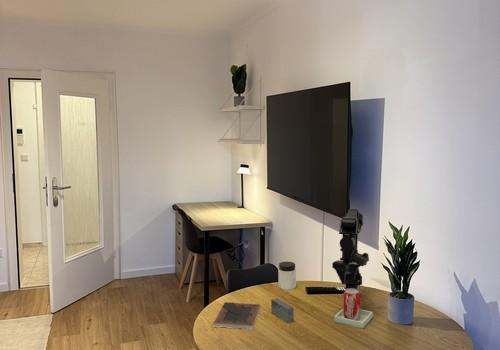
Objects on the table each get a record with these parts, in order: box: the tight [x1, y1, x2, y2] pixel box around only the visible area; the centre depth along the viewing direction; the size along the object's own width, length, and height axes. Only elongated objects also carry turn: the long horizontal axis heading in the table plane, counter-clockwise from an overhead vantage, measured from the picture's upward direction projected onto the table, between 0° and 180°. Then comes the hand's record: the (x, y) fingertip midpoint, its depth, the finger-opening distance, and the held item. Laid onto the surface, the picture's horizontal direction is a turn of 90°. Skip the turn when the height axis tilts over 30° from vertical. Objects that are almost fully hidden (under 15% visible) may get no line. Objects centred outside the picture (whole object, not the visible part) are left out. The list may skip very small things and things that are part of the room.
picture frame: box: [212, 301, 261, 331], centre depth 198 cm, size 16×2×22 cm
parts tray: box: [333, 308, 374, 330], centre depth 193 cm, size 12×12×2 cm
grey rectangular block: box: [270, 297, 295, 323], centre depth 197 cm, size 3×12×6 cm, turn 32°
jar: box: [277, 261, 297, 291], centre depth 231 cm, size 9×8×12 cm
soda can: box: [342, 288, 361, 320], centre depth 193 cm, size 7×7×12 cm
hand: (348, 281), depth 201 cm, fingers open, 9 cm apart
